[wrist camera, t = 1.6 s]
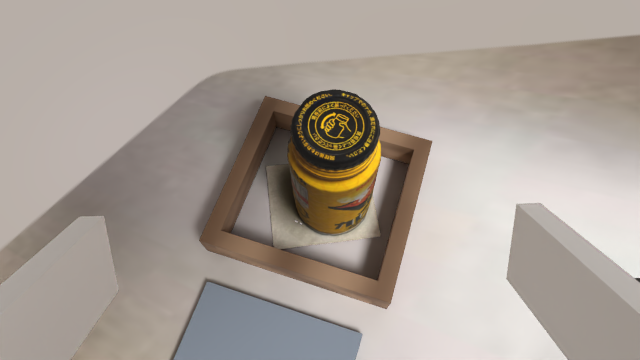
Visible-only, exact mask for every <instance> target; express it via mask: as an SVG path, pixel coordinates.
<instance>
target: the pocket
mask: <svg viewBox="0 0 640 360" xmlns="http://www.w3.org/2000/svg"><path fill="white" fill-rule="evenodd" d="M299 107H300V105H297V104H293V103H289V102H286V101H282V100H278V99H275V98H271V97H267V96H265V98H264V100H263V102H262V104H261V106H260V109H259V111H258V113H257V115H256V117H255V119H254V122H253V124H252V126H251V128H250V130H249V133H248V135H247V137H246V139H245V141H244V143H243V146H242V148H241V150H240V152H239V154H238V157H237V159H236V161H235V163H234V165H233V168H232V170H231V172H230V174H229V176H228V178H227V181H226V183H225V185H224V187H223V189H222V192H221V194H220V196H219V198H218V200H217V202H216V205H215V207H214V209H213V211H212V213H211V216H210V218H209V220H208V222H207V224H206V227H205V229H204V231H203V233H202V235H201V237H200V240H199V241H200V242H201V243H202V245H203V246H204V247H205V248H206V249H207V250H208V251H211V252H214V253H217V254H220V255H223V256H227V257H230V258H233V259H236V260H239V261H242V262H245V263H248V264H251V265H254V266H257V267H260V268H263V269H266V270H269V271H272V272H275V273H278V274H281V275H284V276H287V277H290V278H293V279H296V280H300V281H303V282H306V283H309V284H312V285H315V286H318V287H321V288H324V289H327V290H330V291H333V292H336V293H339V294H342V295H345V296H348V297H351V298H354V299H357V300H360V301H363V302H366V303H369V304H372V305H376V306H379V307H382V308H385V309H387V307H388V306H389V305H390V303H391V300H392V296H393V292H394V288H395V284H396V280H397V276H398V273H399V269H400V265H401V261H402V257H403V253H404V249H405V245H406V241H407V238H408V234H409V230H410V226H411V222H412V218H413V214H414V210H415V207H416V203H417V199H418V195H419V191H420V187H421V183H422V179H423V175H424V172H425V168H426V164H427V160H428V156H429V152H430V148H431V144H432V141H430V140H426V139H422V138H419V137H415V136H411V135H408V134H404V133H400V132H397V131H393V130H389V129H386V128H382V127H380V136H379V141H380V144H381V156H383V157H386V158H390V159H393V160H397V161H400V162H404V163H408V164H409V166H408V169H407V173H406V177H405V180H404V184H403V188H402V191H401V195H400V198H399V202H398V206H397V209H396V213H395V217H394V220H393V224H392V227H391V231H390V235H389V238H388V242H387V246H386V249H385V253H384V256H383V260H382V264H381V267H380V271H379V275H378V278H377V280H374V279H371V278H367V277H364V276H361V275H358V274H355V273H352V272H349V271H346V270H342V269H339V268H336V267H333V266H330V265H327V264H324V263H321V262H317V261H314V260H311V259H308V258H305V257H302V256H299V255H296V254H293V253H289V252H286V251H283V250H280V249H277V248H274V247H271V246H268V245H264V244H261V243H258V242H255V241H252V240H249V239H246V238H243V237H240V236H236V235H233V234H231V231H232V229H233V227H234V224H235V222H236V220H237V217H238V215H239V213H240V210H241V208H242V206H243V203H244V201H245V199H246V196H247V194H248V192H249V189H250V187H251V185H252V182H253V180H254V178H255V175H256V173H257V171H258V168H259V166H260V164H261V161H262V159H263V157H264V155H265V152H266V150H267V148H268V145H269V143H270V141H271V138H272V136H273V134H274V131H275V129H276V127H279V128H283V129H286V130H290V131H291V127H290V126H291V124H292V118H293V117H294V114H295V111H297V109H298V108H299Z"/></svg>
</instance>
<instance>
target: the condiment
mask: <svg viewBox="0 0 640 360" xmlns="http://www.w3.org/2000/svg"><path fill="white" fill-rule="evenodd" d="M290 127H291V136H290V140H289V142H288V154H287V156H288V162H289V164H282V165H273V166H266V172H267V182H268V191H269V203H270V213H271V225H272V235H273V247H274V248H277V249H286V248H295V247H301V246H310V245H318V244H327V243H335V242H342V241H350V240H358V239H366V238H373V237H379V236H381V234H380V229H379V224H378V219H377V214H376V209H375V204H374V199H373V188H374V185H375V181H376V176H377V172H378V167H379V165H380V161H381V144H380V141H379V136H380V126H379V120H378V118H377V115H376V113H375V111H374V110H373V109H372V107H371V106H370V105H369V104H368V103H367V102H366V101H365V100H363V99H362V98H360V97H359V96H358V95H356V94H354V93H350V92H346V91H342V90H328V91H321V92H318V93H316V94H313V95H311V96H310V97H308V98H307V99H306V100H305V101H304V102H303V103H302V104H301V106H300V107H299V108H298V109H297V111H295V114H294V117H293V118H292V124H291V126H290ZM295 220H297V221H298V223H296V222H295ZM300 222H301V223H302V225H300Z"/></svg>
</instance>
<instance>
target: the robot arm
mask: <svg viewBox="0 0 640 360" xmlns="http://www.w3.org/2000/svg"><path fill="white" fill-rule="evenodd" d="M506 279H507V280H508V281H509V283H510V284H511V285H512V287H513V288H514V289H515V291H516V292H517V293H518V295H519V296H520V297H521V298H522V300H523V301H524V302H525V304H526V305H527V306H528V308H529V309H530V310H531V312H532V313H533V314H534V316H535V317H536V318H537V320H538V321H539V322H540V324H541V325H542V326H543V328H544V329H545V330H546V331H547V333H548V334H549V335H550V337H551V338H552V339H553V341H554V342H555V343H556V345H557V346H558V347H559V349H560V350H561V351H562V353H563V354H564V355H565V357H566V358H567V359H568V360H640V278H633V277H632V276H631V275H630V274H628V273H627V272H626V271H625V270H623V269H622V268H621V267H620V266H618V265H617V264H616V263H615V262H613V261H612V260H611V259H610V258H608V257H607V256H606V255H605V254H603V253H602V252H601V251H600V250H598V249H597V248H596V247H595V246H593V245H592V244H591V243H590V242H588V241H587V240H586V239H585V238H583V237H582V236H581V235H580V234H578V233H577V232H576V231H575V230H573V229H572V228H571V227H570V226H568V225H567V224H566V223H565V222H563V221H562V220H561V219H559V218H558V217H557V216H556V215H554V214H553V213H552V212H551V211H549V210H548V209H547V208H546V207H544V206H543V205H542V204H541V203H531V204H517V205H516V212H515V219H514V227H513V234H512V241H511V249H510V256H509V263H508V271H507V278H506ZM118 291H119V289H118V284H117V279H116V274H115V269H114V264H113V259H112V254H111V249H110V244H109V239H108V234H107V229H106V224H105V219H104V216H79V217H78V218H77V219H76V220H75V221H74V222H72V223H71V224H70V225H69V226H68V227H67V228H65V229H64V230H63V231H62V232H61V233H60V234H59V235H57V236H56V237H55V238H54V239H53V240H52V241H50V242H49V243H48V244H47V245H46V246H45V247H43V248H42V249H41V250H40V251H39V252H38V253H36V254H35V255H34V256H33V257H32V258H31V259H30V260H28V261H27V262H26V263H25V264H24V265H23V266H21V267H20V268H19V269H18V270H17V271H16V272H14V273H13V274H12V275H11V276H10V277H9V278H8V279H6V280H5V281H4V282H3V283H2V284H1V285H0V360H71V358H72V357H73V356H74V354H75V353H76V351H77V350H78V348H79V347H80V346H81V344H82V343H83V341H84V340H85V338H86V337H87V336H88V334H89V333H90V331H91V330H92V328H93V327H94V326H95V324H96V323H97V321H98V320H99V318H100V317H101V316H102V314H103V313H104V311H105V310H106V308H107V307H108V306H109V304H110V303H111V301H112V300H113V298H114V297H115V295H116V294H117V293H118Z"/></svg>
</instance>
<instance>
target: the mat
mask: <svg viewBox="0 0 640 360" xmlns="http://www.w3.org/2000/svg"><path fill="white" fill-rule="evenodd" d="M361 338H362V334H361V333H358V332H355V331H352V330H349V329H346V328H343V327H340V326H338V325H335V324H332V323H329V322H326V321H323V320H320V319H317V318H314V317H311V316H308V315H305V314H302V313H299V312H296V311H293V310H290V309H287V308H285V307H282V306H279V305H276V304H273V303H270V302H267V301H264V300H261V299H258V298H255V297H252V296H249V295H246V294H243V293H240V292H237V291H234V290H232V289H229V288H226V287H223V286H220V285H217V284H214V283H211V282H208V281H207V283H206V286H205V288H204V290H203V292H202V295H201V297H200V299H199V302H198V304H197V306H196V309H195V311H194V313H193V316H192V318H191V320H190V322H189V325H188V327H187V329H186V332H185V334H184V336H183V339H182V341H181V343H180V346H179V348H178V350H177V353H176V355H175V357H174V359H173V360H355V359H356V356H357V352H358V349H359V345H360V341H361Z"/></svg>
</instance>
